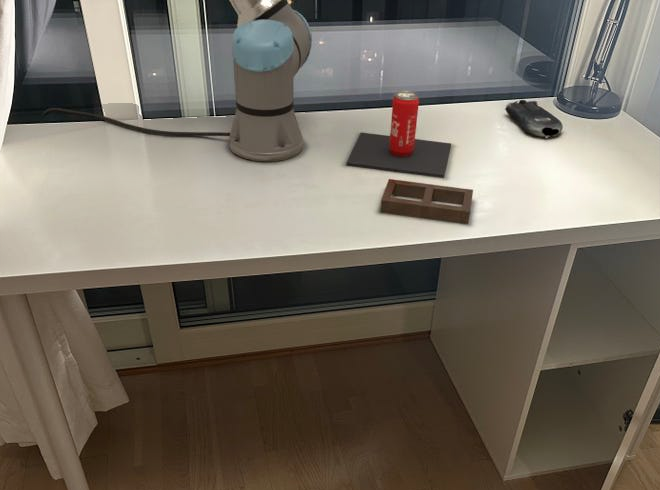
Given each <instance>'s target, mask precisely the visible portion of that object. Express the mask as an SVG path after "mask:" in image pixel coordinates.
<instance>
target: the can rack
mask: <svg viewBox="0 0 660 490" xmlns="http://www.w3.org/2000/svg"><path fill="white" fill-rule="evenodd" d="M473 195H474V189H471V188H463V187H457V186H456V187H454V186H447V185H438V184H432V183H424V182H416V181H408V180H401V179H393V178H388V180H387V183H386V186H385V188H384V191H383V194H382V196H381V199H380V211H379V212H380V213H384V214H392V215H399V216H406V217H415V218H421V219H428V220H429V219H430V220H437V221H443V222H450V223H451V222H452V223H459V224H466V225H468V224H469V220H470V216H471V210H472V209H471V208H472V201H473ZM395 196H398V197H395ZM400 197H406V198H400ZM407 198H412V199H407ZM413 198H414V199H413ZM415 199H421V200H415ZM433 201H436V202H433ZM437 202H444V203H445V204H444V203H437ZM446 203H452V204H446ZM453 204H459V205H461V206H458V205H453Z"/></svg>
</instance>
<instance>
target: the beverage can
mask: <svg viewBox="0 0 660 490" xmlns="http://www.w3.org/2000/svg"><path fill="white" fill-rule="evenodd" d="M419 105H420V99H419V94H417V93H416V92H413V91H407V90H401V91H396V92H395V93H394V96H393V98H392V107H391V120H390V130H389V131H390V132H389V136H390V142H389V148H390V151H391V154H392V155H394V156H397V157H408V156H410V155H411V153H412V151H413V150H414V143H415V139H416V133H417V123H418V115H419Z"/></svg>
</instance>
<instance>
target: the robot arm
mask: <svg viewBox="0 0 660 490" xmlns="http://www.w3.org/2000/svg"><path fill="white" fill-rule="evenodd" d="M228 1H229V2H230V4H231V6H232V7H233V9H234V10H235V13H236V14H237V22H236V23H237V24H236V28H235V30H234V32H233V34H232V44H231V56H232V64H233V65H232V66H233V78H234V79H233V80H234V93H235V114H234V118H233V121H232V125H231V130H230V132H226V131H225V132H220V131H218V132H217V131H207V132H206V131H203V132H202V131H169V130H168V131H167V130H159V129H152V128H146V127H142V126H137V125H134V124H130V123H125V122H122V121H120V120H117V119H114V118H110V117H108V116H104V115H100V114H95V113H90V112H85V111H77V110H71V109H66V108H60V107H50V108H48V109H46V110H44V112H42V114H41V115H42V116H43V117H44V116H47V115H49V114H50V113H53V112H54V113H55V112H58V113H59V112H60V113H63V114H70V115H75V116H83V117H89V118H94V119H98V120H102V121H106V122H109V123H111V124H112V123H113V124H116V125H118V126H121V127H124V128H127V129H132V130H135V131H138V132H144V133H150V134H155V135H164V136H181V137H182V136H183V137H184V136H185V137H190V136H191V137H228V141H229V149H230V151H231V153H234V154H235V155H236V156H238V157H239V158H242V159H246V160H250V161H256V162H278V161H284V160H287V159H291V158H293V157H296V155H297V156H298V154H300V153H301V152H302V150H303V147H304V146H303V145H304V143H303V141H304V139H303V134H302V131H301V128H300V126H299V122H298V119H297V116H296V113H295V109H294V107H295V106H294V98H295V97H294V89H295V88H294V78H295V77H296V75H297V73H299V71H300V69H301V68H302V67H303V66H304V65H305V63H306V62H307V61H308V58H309V56H310V53H311V50H312V46H313V45H312V44H313V35H312V30H311V27H310V25H309V22H308V21H307V19H306V18H305V17H304V16H303V15H302V14H301V13H300V12H299V11H297V10H294V9H293V8H292V6H291V5H290V3H289V1H288V0H228Z"/></svg>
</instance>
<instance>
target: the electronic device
mask: <svg viewBox="0 0 660 490" xmlns="http://www.w3.org/2000/svg"><path fill="white" fill-rule="evenodd" d="M504 110H505V112H506V113H507V115H508V116H510V117H511V118H512V119H513V120H515V122H516V123H518V124H519V125H521V128H522V129H523V130H524V131H525V132H526V133H527V134H530V135H532V136H534V137H541V138H545V139H548V138H550V137H555V136H557V135H558V134H560V133H561V132H562V130H563V128H564V127H563V126H564V125H563V123H562V121H561V120H560V119H559V118H557V117H556V116H555V115H553V113H550V112H549V111H548V110H546V109H545V108H543V107H541V106H540V105H539V103H538V101H537V100H531V101H530V100H529V101H527V100H526V99H519V101H518V100H517V101H513V102H508V103H507V104H506V105H505V108H504Z"/></svg>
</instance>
